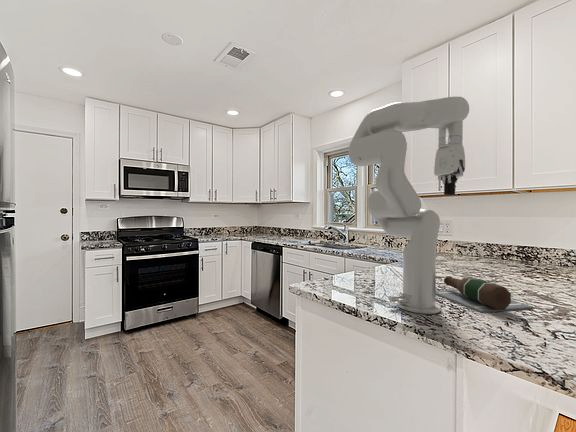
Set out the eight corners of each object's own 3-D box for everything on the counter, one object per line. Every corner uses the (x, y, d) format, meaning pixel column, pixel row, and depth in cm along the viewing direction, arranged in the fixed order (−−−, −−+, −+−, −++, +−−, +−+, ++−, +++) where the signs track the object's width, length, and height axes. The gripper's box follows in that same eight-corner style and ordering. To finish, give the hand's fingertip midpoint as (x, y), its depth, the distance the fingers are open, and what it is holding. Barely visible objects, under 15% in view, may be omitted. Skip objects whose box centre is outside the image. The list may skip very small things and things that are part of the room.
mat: (480, 312, 86) (480, 310, 86) (430, 292, 107) (430, 290, 107) (533, 308, 90) (533, 306, 90) (474, 290, 111) (474, 288, 111)
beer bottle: (495, 282, 86) (442, 267, 109) (486, 306, 85) (435, 286, 109) (516, 291, 86) (459, 274, 110) (507, 315, 86) (452, 293, 110)
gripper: (426, 147, 107) (426, 195, 108) (457, 137, 93) (456, 193, 93) (443, 148, 109) (443, 196, 109) (476, 139, 94) (476, 193, 94)
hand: (449, 194), depth 101 cm, fingers closed
